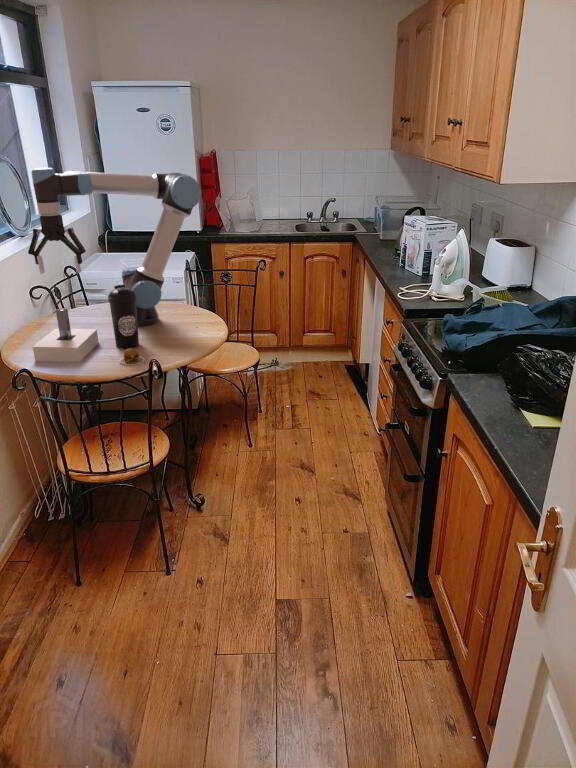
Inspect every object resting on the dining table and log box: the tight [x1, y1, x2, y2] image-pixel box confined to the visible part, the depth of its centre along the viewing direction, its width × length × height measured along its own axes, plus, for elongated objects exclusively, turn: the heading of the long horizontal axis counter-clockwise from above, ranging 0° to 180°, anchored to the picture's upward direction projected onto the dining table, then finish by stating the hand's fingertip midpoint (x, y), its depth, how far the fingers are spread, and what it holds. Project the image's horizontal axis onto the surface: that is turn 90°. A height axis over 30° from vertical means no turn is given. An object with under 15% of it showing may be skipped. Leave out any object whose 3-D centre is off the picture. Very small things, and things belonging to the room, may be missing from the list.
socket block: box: [32, 327, 99, 363], centre depth 207 cm, size 16×20×6 cm
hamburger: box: [118, 348, 145, 366], centre depth 200 cm, size 12×12×6 cm
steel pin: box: [55, 307, 72, 340], centre depth 205 cm, size 4×4×14 cm
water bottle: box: [107, 284, 140, 350], centre depth 210 cm, size 10×10×23 cm
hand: (60, 272), depth 209 cm, fingers open, 13 cm apart
